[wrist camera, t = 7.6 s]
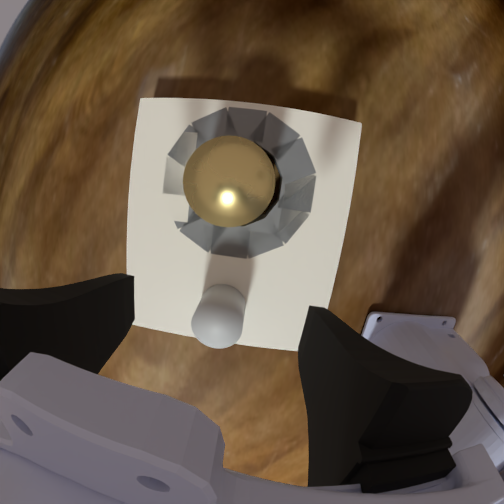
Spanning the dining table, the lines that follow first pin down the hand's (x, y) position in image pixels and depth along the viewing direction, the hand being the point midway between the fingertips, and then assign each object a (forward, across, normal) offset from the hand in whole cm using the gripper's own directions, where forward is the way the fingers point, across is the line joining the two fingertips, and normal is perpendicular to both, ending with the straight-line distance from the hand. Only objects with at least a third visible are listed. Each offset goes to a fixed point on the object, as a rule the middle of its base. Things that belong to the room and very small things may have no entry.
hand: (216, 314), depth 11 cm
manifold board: (+9, 0, -2) cm, 9 cm away
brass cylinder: (+9, 0, -5) cm, 11 cm away
